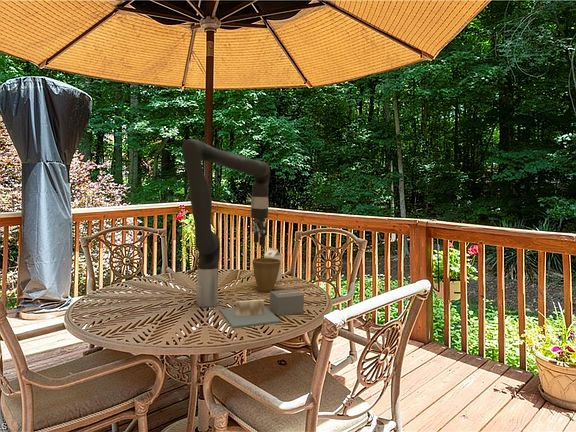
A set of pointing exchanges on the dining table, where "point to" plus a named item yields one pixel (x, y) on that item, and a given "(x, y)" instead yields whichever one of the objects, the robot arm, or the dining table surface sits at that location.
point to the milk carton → (276, 255)
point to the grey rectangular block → (286, 302)
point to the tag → (249, 307)
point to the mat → (248, 318)
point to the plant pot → (266, 273)
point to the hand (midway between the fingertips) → (258, 243)
